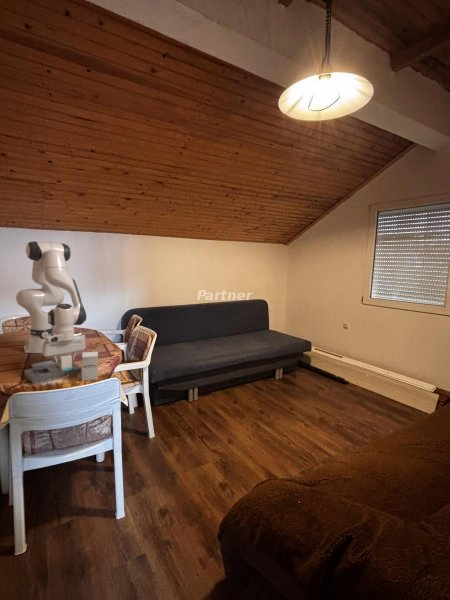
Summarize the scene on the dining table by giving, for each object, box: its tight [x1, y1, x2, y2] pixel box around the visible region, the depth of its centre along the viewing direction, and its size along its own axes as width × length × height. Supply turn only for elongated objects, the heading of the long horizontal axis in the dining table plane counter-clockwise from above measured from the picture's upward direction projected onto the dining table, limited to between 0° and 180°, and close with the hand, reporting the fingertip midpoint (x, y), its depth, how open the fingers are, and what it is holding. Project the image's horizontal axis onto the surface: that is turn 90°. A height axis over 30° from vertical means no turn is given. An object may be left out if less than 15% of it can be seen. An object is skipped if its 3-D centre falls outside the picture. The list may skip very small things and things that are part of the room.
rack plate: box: [23, 361, 82, 385], centre depth 152 cm, size 14×22×3 cm, turn 138°
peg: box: [57, 353, 73, 370], centre depth 156 cm, size 5×5×9 cm
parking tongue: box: [30, 360, 57, 368], centre depth 161 cm, size 9×10×1 cm
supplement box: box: [81, 351, 99, 382], centre depth 150 cm, size 7×7×13 cm
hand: (64, 361), depth 155 cm, fingers open, 6 cm apart
